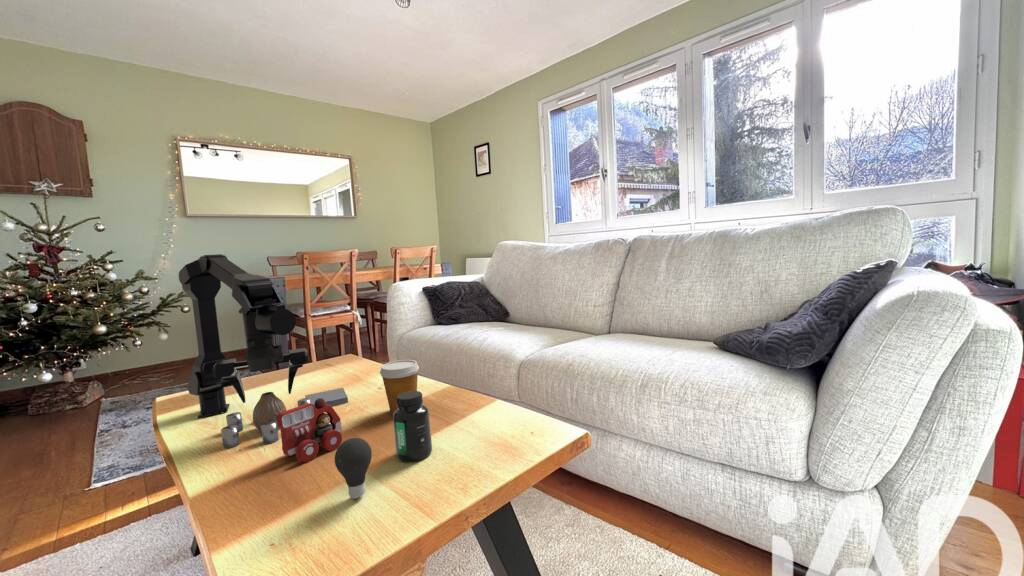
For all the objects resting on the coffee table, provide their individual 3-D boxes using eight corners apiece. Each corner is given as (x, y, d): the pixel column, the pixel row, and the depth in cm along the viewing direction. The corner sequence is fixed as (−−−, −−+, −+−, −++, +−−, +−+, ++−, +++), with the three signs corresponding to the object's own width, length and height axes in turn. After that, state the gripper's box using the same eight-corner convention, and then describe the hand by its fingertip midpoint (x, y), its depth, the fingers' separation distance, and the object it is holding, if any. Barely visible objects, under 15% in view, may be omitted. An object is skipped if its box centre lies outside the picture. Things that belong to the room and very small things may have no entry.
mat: (305, 400, 116) (305, 395, 116) (343, 392, 121) (342, 387, 121) (307, 411, 108) (306, 406, 107) (348, 402, 112) (347, 397, 112)
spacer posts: (230, 426, 101) (228, 410, 101) (311, 408, 110) (309, 393, 109) (220, 455, 85) (218, 437, 85) (316, 432, 94) (314, 415, 94)
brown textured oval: (294, 422, 101) (290, 388, 100) (275, 435, 94) (271, 398, 93) (268, 423, 101) (263, 388, 101) (247, 436, 95) (242, 399, 94)
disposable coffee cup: (430, 407, 105) (426, 361, 104) (402, 421, 97) (397, 372, 96) (404, 401, 110) (400, 357, 109) (375, 415, 102) (370, 367, 101)
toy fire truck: (351, 442, 88) (346, 395, 87) (292, 470, 78) (286, 417, 77) (332, 435, 92) (327, 390, 91) (274, 461, 82) (268, 410, 81)
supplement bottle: (402, 467, 76) (397, 404, 75) (392, 453, 82) (386, 394, 81) (437, 455, 80) (432, 395, 79) (425, 442, 86) (420, 386, 84)
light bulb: (345, 490, 70) (339, 433, 69) (379, 486, 70) (373, 430, 69) (334, 510, 64) (327, 449, 63) (370, 506, 65) (364, 445, 64)
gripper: (204, 345, 84) (214, 419, 85) (306, 331, 93) (313, 398, 94) (212, 336, 94) (221, 403, 95) (303, 325, 103) (310, 385, 104)
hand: (267, 397), depth 97 cm, fingers open, 9 cm apart
